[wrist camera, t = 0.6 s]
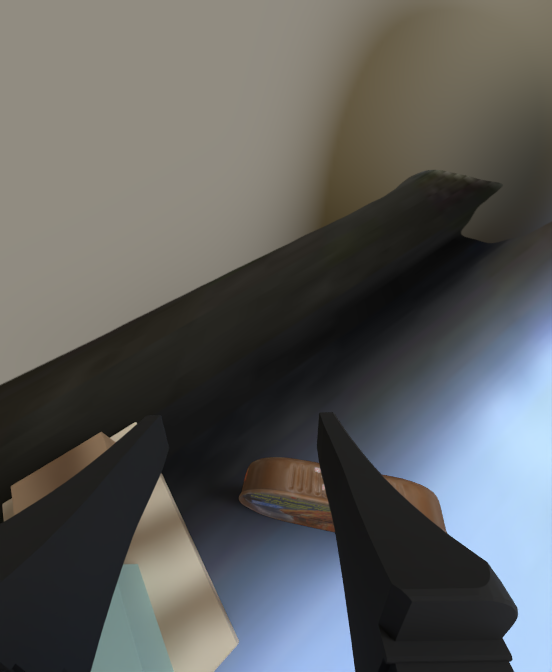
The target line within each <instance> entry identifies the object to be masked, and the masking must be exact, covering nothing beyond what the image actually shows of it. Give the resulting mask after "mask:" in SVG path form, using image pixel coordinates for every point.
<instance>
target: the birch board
mask: <svg viewBox="0 0 552 672" xmlns="http://www.w3.org/2000/svg"><path fill="white" fill-rule="evenodd" d="M136 424H137V423H136V422H135V423H133V424H132V425H130V426H128V427H127V428H125V429H123V430H122V431H120V432H119V433H117V434H115V435H114V436H112V437H110V439H112V440H113V441H115V442H117V441H118V440H119V439H120V438H122V437H123V436H124V435H125V434H126V433H127V432H128V431H130V430H131V429H132V428H133V427H134V426H135V425H136ZM2 506H3V518H4V521H6V520H8V519H9V518H11V517H13V516H14V511H13V501H12V498H11V499H10V500H8V501H7V502H5V503H3V504H2ZM124 564H138V566H139V569H140V572H141V575H142V578H143V581H144V584H145V587H146V590H147V593H148V596H149V599H150V602H151V605H152V608H153V611H154V614H155V617H156V620H157V623H158V626H159V629H160V632H161V635H162V638H163V641H164V644H165V647H166V650H167V653H168V656H169V658H170V661H171V664H172V667H173V670H174V672H214V671H215V670H216V669H217V667H218V666H219V665H220V664H221V663H222V662H223V661H224V659H225V658H226V657H227V656H228V655H229V654H230V653H231V652H232V650H233V649H234V648H235V647H236V646H237V645H238V643H239V640H238V638H237V636H236V633H235V631H234V629H233V627H232V625H231V623H230V620H229V618H228V616H227V614H226V612H225V610H224V607H223V605H222V603H221V601H220V599H219V597H218V594H217V592H216V590H215V588H214V586H213V584H212V581H211V579H210V577H209V575H208V573H207V571H206V568H205V566H204V564H203V562H202V560H201V558H200V555H199V553H198V551H197V549H196V547H195V545H194V542H193V540H192V538H191V536H190V534H189V532H188V529H187V527H186V525H185V523H184V521H183V519H182V516H181V514H180V512H179V510H178V508H177V506H176V503H175V501H174V499H173V497H172V495H171V493H170V490H169V488H168V486H167V484H166V482H165V480H164V477H163V475H162V473H161V474H160V477H159V479H158V481H157V483H156V486H155V488H154V490H153V492H152V495H151V497H150V499H149V501H148V503H147V506H146V508H145V510H144V512H143V515H142V517H141V519H140V521H139V523H138V526H137V528H136V531H135V533H134V535H133V538H132V541H131V544H130V547H129V549H128V552H127V555H126V558H125V561H124Z"/></svg>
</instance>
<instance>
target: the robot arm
mask: <svg viewBox="0 0 552 672" xmlns="http://www.w3.org/2000/svg"><path fill="white" fill-rule="evenodd" d="M168 450H169V446H168V442H167V438H166V434H165V430H164V426H163V422H162V418H161V415H147V416H146V417H145V418H143V419H142V420H141V421H140V422H139V423H138V424H136V425H135V426H134V427H133V428H132V429H131V430H130V431H128V432H127V433H126V434H125V435H124V436H123V437H122V438H120V439H119V440H118V441H117V442H116V443H114V444H113V445H112V446H111V447H110V448H109V449H107V450H106V451H105V452H104V453H103V454H101V455H100V456H99V457H98V458H96V459H95V460H94V461H93V462H91V463H90V464H89V465H87V466H86V467H85V468H84V469H82V470H81V471H80V472H79V473H77V474H76V475H75V476H73V477H72V478H70V479H69V480H68V481H66V482H65V483H63V484H62V485H61V486H59V487H58V488H56V489H55V490H53V491H52V492H50V493H49V494H47V495H46V496H44V497H43V498H41V499H40V500H38V501H37V502H35V503H33V504H32V505H30V506H29V507H27V508H25V509H24V510H22V511H21V512H19V513H18V514H16V515H14V516H13V517H11V518H9V519H8V520H6V521H4V522H3V523H1V524H0V672H91V669H92V666H93V662H94V658H95V655H96V651H97V648H98V644H99V640H100V637H101V633H102V630H103V627H104V623H105V620H106V617H107V613H108V610H109V607H110V604H111V600H112V597H113V594H114V591H115V588H116V585H117V582H118V579H119V576H120V573H121V570H122V567H123V564H124V561H125V558H126V555H127V552H128V549H129V547H130V544H131V541H132V538H133V535H134V533H135V531H136V528H137V526H138V523H139V521H140V519H141V517H142V515H143V512H144V510H145V508H146V506H147V503H148V501H149V499H150V497H151V495H152V492H153V490H154V488H155V486H156V483H157V481H158V479H159V477H160V474H161V472H162V469H163V466H164V463H165V460H166V457H167V453H168ZM317 450H318V457H319V464H320V470H321V474H322V479H323V483H324V487H325V491H326V495H327V499H328V503H329V507H330V511H331V515H332V519H333V524H334V529H335V533H336V540H337V546H338V552H339V558H340V565H341V572H342V578H343V585H344V591H345V599H346V606H347V613H348V620H349V627H350V634H351V642H352V650H353V657H354V665H355V672H514V671H513V669H512V667H511V665H510V663H509V662H511V661H512V655H511V653H510V651H509V649H508V648H507V646H506V644H505V642H504V640H503V636H504V635H505V634H506V633H507V632H508V630H509V629H510V628H511V627H512V626H513V624H514V623H515V621H516V619H517V616H518V610H517V606H516V605H515V603H514V602H513V600H512V598H511V597H510V595H509V594H508V592H507V590H506V589H505V587H504V585H503V584H502V582H501V581H500V579H499V578H498V577H497V575H496V574H495V573H494V571H493V570H492V568H491V567H490V565H489V564H488V563H487V562H486V561H485V560H483V559H482V558H480V557H479V556H478V555H476V554H475V553H473V552H472V551H471V550H469V549H468V548H466V547H465V546H464V545H462V544H461V543H459V542H458V541H457V540H455V539H454V538H453V537H451V536H450V535H449V534H447V533H446V532H445V531H443V530H442V529H441V528H440V527H438V526H437V525H436V524H435V523H433V522H432V521H431V520H430V519H429V518H427V517H426V516H425V515H424V514H423V513H422V512H420V511H419V510H418V509H417V508H416V507H415V506H413V505H412V504H411V503H410V502H409V501H408V500H407V499H406V498H405V497H403V496H402V495H401V494H400V493H399V492H398V491H397V490H396V489H395V488H394V487H393V486H392V485H391V484H390V483H389V482H388V481H387V480H386V479H385V478H384V477H383V476H382V475H381V474H380V472H379V471H378V470H377V469H376V468H375V467H374V466H373V465H372V463H371V462H370V461H369V460H368V459H367V458H366V456H365V455H364V454H363V453H362V452H361V450H360V449H359V448H358V446H357V445H356V444H355V443H354V441H353V440H352V439H351V437H350V436H349V435H348V433H347V432H346V430H345V429H344V427H343V426H342V425H341V423H340V422H339V420H338V418H337V417H336V415H335V414H334V413H333V412H328V413H319V425H318V439H317Z"/></svg>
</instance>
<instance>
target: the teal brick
mask: <svg viewBox="0 0 552 672" xmlns="http://www.w3.org/2000/svg"><path fill="white" fill-rule="evenodd" d="M91 672H174V670H173V667H172V664H171V661H170V658H169V656H168V653H167V650H166V647H165V644H164V641H163V638H162V635H161V632H160V629H159V626H158V623H157V620H156V617H155V614H154V611H153V608H152V605H151V602H150V599H149V596H148V593H147V590H146V587H145V584H144V581H143V578H142V575H141V572H140V569H139V566H138V564H123V567H122V570H121V573H120V576H119V579H118V582H117V585H116V588H115V591H114V594H113V597H112V600H111V604H110V607H109V610H108V613H107V617H106V620H105V623H104V627H103V630H102V633H101V637H100V640H99V644H98V648H97V651H96V655H95V658H94V662H93V666H92V669H91Z"/></svg>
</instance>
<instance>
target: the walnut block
mask: <svg viewBox="0 0 552 672" xmlns="http://www.w3.org/2000/svg"><path fill="white" fill-rule="evenodd" d="M114 443H116V442H115V441H113V440H112V439H110V438H109V437H108V436H106V435H105V434H103V433H102V432H100V433H99V434H97V435H95V436H94V437H92V438H90V439H89V440H87V441H85V442H84V443H82V444H80V445H79V446H77V447H75V448H74V449H72V450H70V451H69V452H67V453H65V454H64V455H62V456H60V457H59V458H57V459H55V460H54V461H52V462H50V463H49V464H47V465H45V466H44V467H42V468H40V469H39V470H37V471H35V472H34V473H32V474H30V475H29V476H27V477H25V478H24V479H22V480H21V481H19V482H17V483H16V484H14V485H12V486H11V492H12V501H13V511H14V515H16V514H18V513H19V512H21V511H22V510H24V509H25V508H27V507H29V506H30V505H32V504H33V503H35V502H37V501H38V500H40V499H41V498H43V497H44V496H46V495H47V494H49V493H50V492H52V491H53V490H55V489H56V488H58V487H59V486H61V485H62V484H63V483H65V482H66V481H68V480H69V479H70V478H72V477H73V476H75V475H76V474H77V473H79V472H80V471H81V470H82V469H84V468H85V467H86V466H87V465H89V464H90V463H91V462H93V461H94V460H95V459H96V458H98V457H99V456H100V455H101V454H103V453H104V452H105V451H106V450H107V449H109V448H110V447H111V446H112V445H113V444H114Z"/></svg>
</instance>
